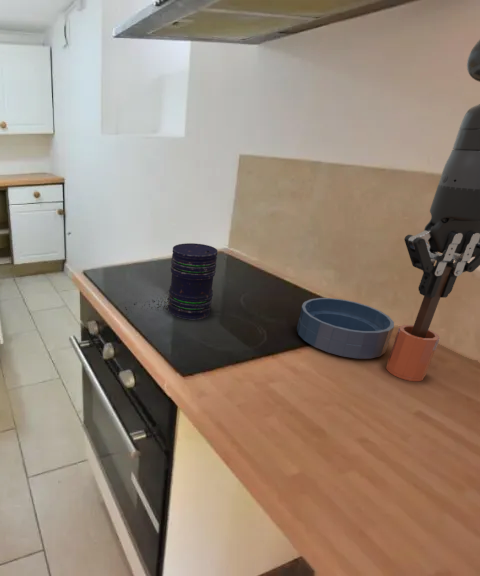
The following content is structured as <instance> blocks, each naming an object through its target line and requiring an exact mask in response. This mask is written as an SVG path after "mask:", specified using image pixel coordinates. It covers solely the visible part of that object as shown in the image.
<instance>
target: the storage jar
mask: <svg viewBox="0 0 480 576" xmlns="http://www.w3.org/2000/svg"><path fill="white" fill-rule="evenodd" d="M218 252H219V251H218V249H217V247H214V246H212V245H208V244H204V243H191V242H189V243H188V242H185V243H179V244H176V245H174V246H173V247H172V254H171V262H170V264H171V266H170V272H171V279H170V280H171V282H170V286H169V287H168V297H167V298H168V299H167V300H168V307H167V308H168V309H167V310H168V312H169V313H170V315H173V316H174V317H176V318H179V319H183V320H193V321H194V320H195V321H197V320H202V319H203V320H204V319H205V318H207V317H209V316H210V314H211V307H212V304H213V296H214V291H213V285H214V284H213V283H214V277H215V275H216V271H217V270H216V269H217V264H218V262H217V259H218V257H217V256H218Z"/></svg>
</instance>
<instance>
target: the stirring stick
mask: <svg viewBox="0 0 480 576" xmlns="http://www.w3.org/2000/svg"><path fill="white" fill-rule="evenodd" d="M450 271H451V267H449V266H445V269H444V271H443V274H442V275H440V276H442V278H441V281H440V284H439V286H438V289H437V292H436V294H435V297H433V298H428V297H425V296H423V298H422V301H421V304H420V307H419V310H418V312H417V315H416V318H415V321H414V323H413V325H414V326H413V329H412V332H411V335H414V336H417V337H421V338H425V337H426V334H427V332H428V329H429V330H430V327H431V323H432V321H433V319H434V315H435V313H436V310H437V308H438V305H439V302H440V300H441V298H440V297H441V294H442V292H443V289H444V286H445V284H446V281H447V278H448V276H449V273H450Z"/></svg>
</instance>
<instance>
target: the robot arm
mask: <svg viewBox="0 0 480 576" xmlns="http://www.w3.org/2000/svg"><path fill="white" fill-rule="evenodd" d="M466 70H467V73H468V76H470V77H471V78H472V79H473V80H475V81H476V82H479V83H480V39H479V40H478V41H477V42H476V43H475V44H474V46H473V48H472V49H471V50H470V52H469V54H468V57H467V62H466ZM458 128H459V129H458V131H457V134H456V137H455V140H454V143H453V146H452V150H451V152H450V154H449V156H448V158H447V160H446V162H445V164H444V165H443V166H444V167H443V170H442V173H441V176H440V178H439V180H438V184H437V187H436V190H435V193H434V196H433V199H432V202H431V205H430V208H429V213H430V216H431V217H430V220H429V222H428V223H427V224H426V225H425V226H424V229H423V231H421V232H418V233H417V234H416V235H413V234H407V235H406V236H404V243H405V247H406V249H407V250H406V251H407V252H408V253H407V254H408V256H409V258H410V262H411V265H412V267H413V268H416V269H418V270H420V271H422V273H423V274H422V276H421V279H420V282H419V285H418V292H419V295H422V296H423V297H424V296H425V297H428V298H433V297H435V294H436V292H437V289H438V286H439V284H440V281H441V278H442V276H440V275H442V274H443V271H444V269H445V266H449V267H451V271H450V273H449V276H448V278H447V281H446V284H445V286H444V289H443V292H442V294H441V297H440V299H441V298H443V299H444V298H448V296H449V295H450V294H451V292H452V291H453V288H454V285H455V283H456V281H457V278H458V277H459V276H461V275H462V274H463V273H466V272H468V273H473V272H474V271H476V269H478V268H479V267H480V103H478V104H476V105H473V106H472V107H470V108H469V109H468V110H467V111H466V112H465V113H464V115H463V118H462V120H461V122H460V125H459V127H458ZM472 258H473V259H472Z"/></svg>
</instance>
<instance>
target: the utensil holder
mask: <svg viewBox="0 0 480 576" xmlns="http://www.w3.org/2000/svg"><path fill="white" fill-rule="evenodd" d="M413 326H414V324H402V325H400V326H399V327H398V329H397V332H396V335H395V337H394V338H395V339H394V341H393V344H392V347H391V350H390V353H389V356H388V358H387V362H386V367H385V368H386V370H387V371H388V372H389V373H390V374H391V375H392V376H394V377H397V378H399V379H401V380H405V381H409V382H421V381H423V380H424V378H425V377H426V376H427V372H428V370H429V367H430V365H431V362H432V360H433V357H434V356H435V352H436V350H437V347H438V344H439V342H440V339H441V337H440V335H439V334H438V333H437V332H435V331H433V330H431V329H430V328H429V329H428V332H427V334H426V337H425V338H421V337H417V336H414V335H411V332H412V329H413Z"/></svg>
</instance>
